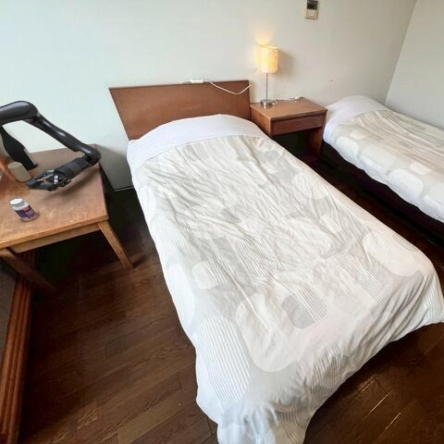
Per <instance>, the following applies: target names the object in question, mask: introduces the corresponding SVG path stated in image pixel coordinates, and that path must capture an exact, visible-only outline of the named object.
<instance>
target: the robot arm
mask: <svg viewBox="0 0 444 444" xmlns="http://www.w3.org/2000/svg"><path fill="white" fill-rule="evenodd" d="M20 121H21V122H25V123H27V124H29V125H30V126H32V127H33V128H34V127H35V128H37V129H38V130H40V131H42V132H44V133H45V134H46V135H48V136H49V137H51V138H52V139H54V140H55V141H57V142H58V143H59V144H61V145H62V146H63V147H65V148H67V149H69V150H70V151H71V152H73V153H79V152H80V153H82V154H83V155H82V156H78V157H75V158H73V159H71V160H69V161H67V162H65V163H63V164H61V165H59V166H58V167H56V168H54V171H53V174H51V175H47V173H44V174H43V175H41V176H39V177H37V176H36V177H37V178H35V177H34V178H35V181H36V182H34V183H33V184H31V185H30V186H31V187H32V188H33V189H32V190H36V189H35V188H37V187H38V186H40V185H42V184H49V183H54V184H52V185H50V186H48V187H47V188H46V189H47V192H50V193H51V192H52V191H55V190H54V189H56V188H57V189H59V188H63V189H64V188H65V187H67V186H68V185H70V183H72V180H73V179H74V178H76V177H77V176H79V175H80V174H81V173H83V172H84V171H86V170H88V169H90V168H92V167H94V166H96V165H98V163H99V162H100V161H101V159H102V157H103V155H102V153H101V152H100V150H99V149H98V148H96V147H94V146H91V145H90V144H87V143H85V142H83V141H81V140H80V139H78V138H77V137H76V136H74V135H73V134H71V133H69V132H68V131H66V130H64V129H62V128H61V127H60V126H59V127H58V126H57V125H55V124H54V123H52V122H51V121H50V120H48V119H47V118H46V117H45V116H44V115H43V114H41V113H40V111H39V110H38V107H37V106H36V105H35V104H33V103H32V102H30V101H27V100H16V101H12V102H9V103H6V104H4V105H1V106H0V127H1V126H3V127H4V126H5V125H7V124H12V123H15V122H20ZM46 179H47V180H48V181H46ZM43 181H44V182H43ZM62 183H63V184H62ZM57 189H56V190H57Z"/></svg>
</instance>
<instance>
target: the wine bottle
mask: <svg viewBox="0 0 444 444" xmlns="http://www.w3.org/2000/svg"><path fill="white" fill-rule="evenodd" d="M0 137H1V142H2V146H3V149H4V150H5V152H6V154H7V155H8V156H9V157H10V158H11V160H12V161H13V162H18V163H21V164H22V165H23V167H24V168H25V169H26V170H27V171H28V170H32V169H34V168H36V167H37V166H38V163H37V162H36V160H35V158H34V157H33V156H32V155H31V153H30V152H29V151H28V149H27V148H26V146H25V145H24V144H22V142H20V141H19V140H18V139H16V138H15V137H14V136H12V135H11V134H10V133H8V131H7V130H6V129H5V127H4V125H3V126H1V127H0Z"/></svg>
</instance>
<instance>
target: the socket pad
mask: <svg viewBox="0 0 444 444" xmlns="http://www.w3.org/2000/svg"><path fill="white" fill-rule="evenodd" d="M47 171H48V170H45V171H42V172H41V173H39V174H38V175H37V176H35V177H34V178H33V179H30V180H29V181H28V182H27V183H25V185H26V187H28V189H30V190H43V191H46V190H47V189H46V188H47V187H48V186H50V185H52V184H54V183H49V184H42V185H40V186H38V187H37V188H35V189H33V188H32V187H31V186H30V185H31V184H33V183H34V182H36V181H35V178H37V177H39V176H41V175H43V174H44V173H47V175H51V174H53V172H47ZM46 181H48V180H47V179H46ZM43 182H44V181H43ZM62 184H64V183H62ZM56 190H58V188H56V189H54V190H53V191H56ZM47 191H48V190H47Z"/></svg>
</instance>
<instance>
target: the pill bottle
mask: <svg viewBox="0 0 444 444" xmlns="http://www.w3.org/2000/svg"><path fill="white" fill-rule="evenodd" d="M10 204H11V206H12V210H13V211H14V212H15V213H16V215H18V217H19V218H20V219H21V220H22V221H24V222H28V221H32V220H34V219H36V218H37V217H38V213H37V212H36V211H35V210H34V209H33V207H32V206H31V205H30V204H29V202H26V201H25V200H23V198H15V199H13V200H11V201H10Z"/></svg>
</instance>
